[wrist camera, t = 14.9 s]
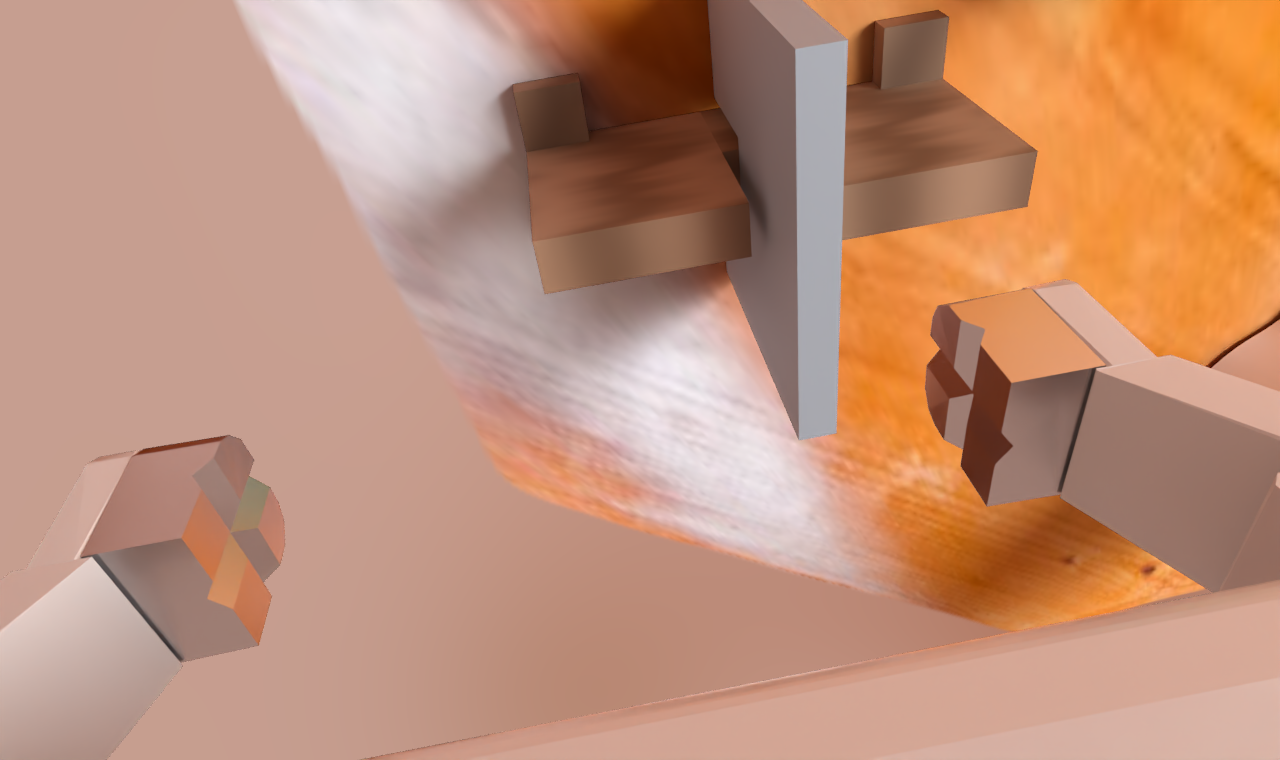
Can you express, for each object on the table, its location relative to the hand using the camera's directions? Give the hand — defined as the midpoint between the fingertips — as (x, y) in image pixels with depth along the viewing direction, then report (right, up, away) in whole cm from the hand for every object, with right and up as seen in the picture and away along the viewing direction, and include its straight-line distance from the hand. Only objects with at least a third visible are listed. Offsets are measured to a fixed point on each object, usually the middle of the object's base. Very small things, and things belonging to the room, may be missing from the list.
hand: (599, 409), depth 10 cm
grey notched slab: (+5, +13, +31) cm, 34 cm away
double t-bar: (+5, +13, +31) cm, 34 cm away
